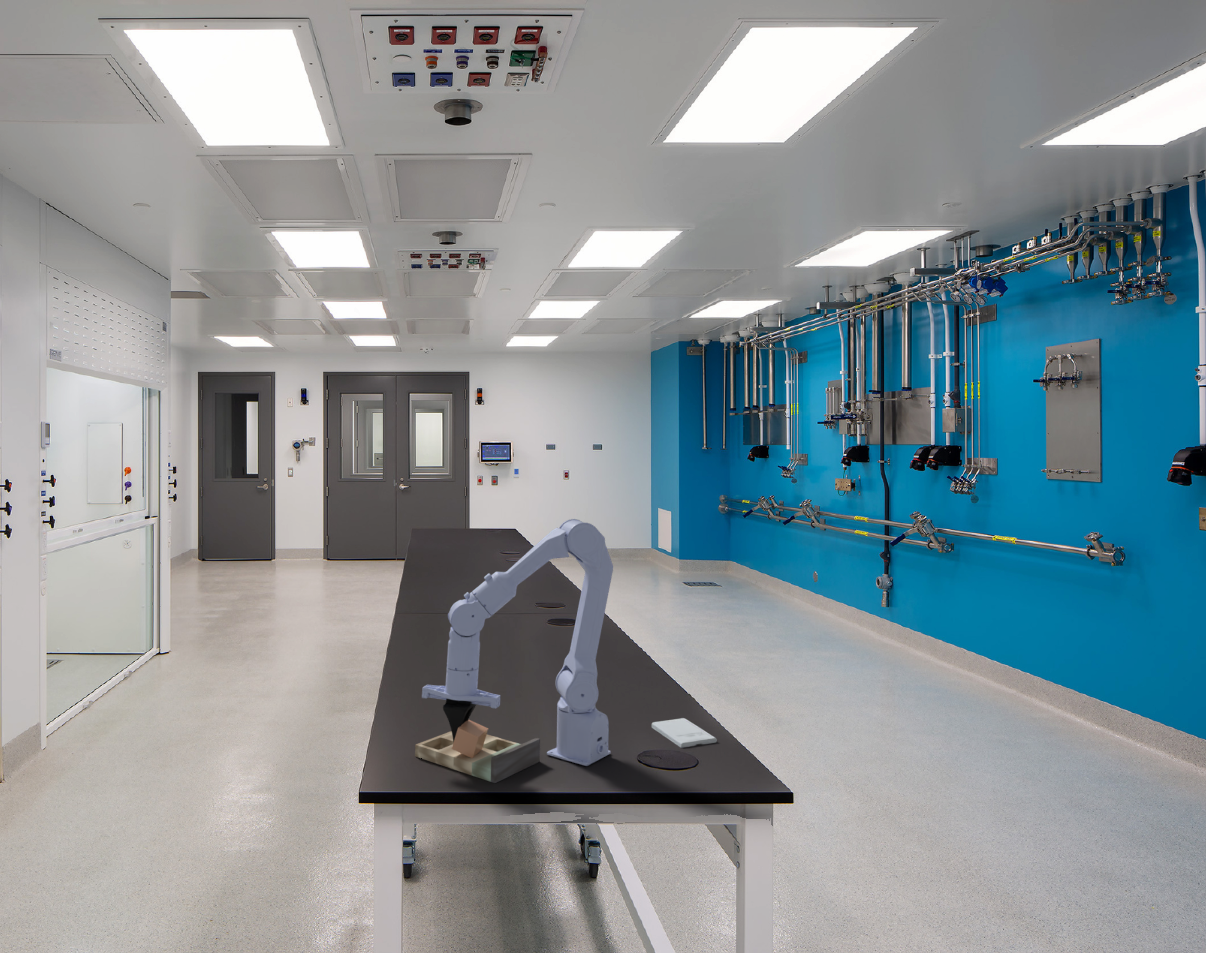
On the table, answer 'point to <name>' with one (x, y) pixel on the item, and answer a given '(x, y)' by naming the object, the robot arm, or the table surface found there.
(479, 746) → the block
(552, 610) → the table surface
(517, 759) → the trap board
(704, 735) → the external hard drive
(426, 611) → the table surface
